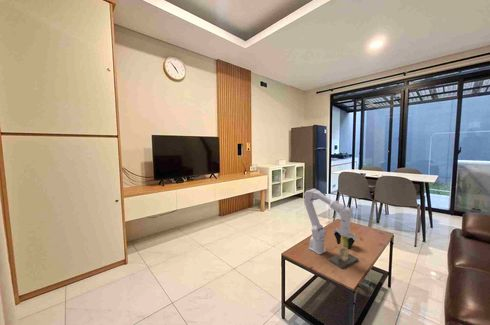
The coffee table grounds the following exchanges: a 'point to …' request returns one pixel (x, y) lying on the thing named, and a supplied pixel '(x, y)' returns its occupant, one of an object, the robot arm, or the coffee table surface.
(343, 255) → the birch peg
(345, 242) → the plant pot
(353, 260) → the slotted plate
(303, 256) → the coffee table surface
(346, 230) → the robot arm
